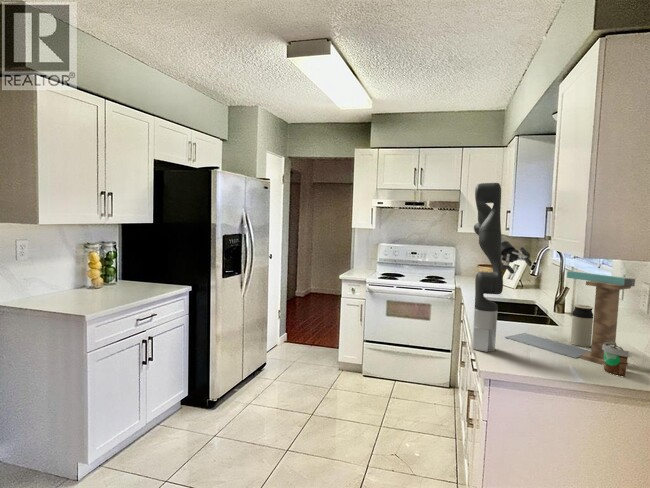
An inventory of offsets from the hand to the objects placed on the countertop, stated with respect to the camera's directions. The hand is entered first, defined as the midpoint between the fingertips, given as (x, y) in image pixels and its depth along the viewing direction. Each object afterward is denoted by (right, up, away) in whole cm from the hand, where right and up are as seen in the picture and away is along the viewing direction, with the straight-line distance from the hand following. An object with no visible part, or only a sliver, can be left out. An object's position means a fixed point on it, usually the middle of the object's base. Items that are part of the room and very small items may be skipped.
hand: (522, 268), depth 188 cm
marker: (+21, -4, -21) cm, 30 cm away
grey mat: (+10, -35, -3) cm, 36 cm away
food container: (+17, -37, -35) cm, 53 cm away
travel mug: (+27, -35, -1) cm, 44 cm away
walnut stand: (+22, -36, -22) cm, 48 cm away
